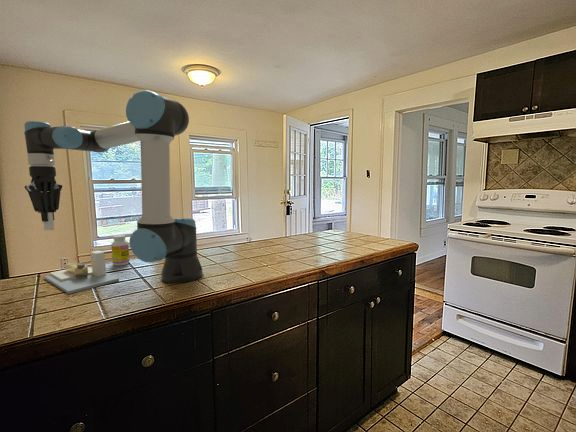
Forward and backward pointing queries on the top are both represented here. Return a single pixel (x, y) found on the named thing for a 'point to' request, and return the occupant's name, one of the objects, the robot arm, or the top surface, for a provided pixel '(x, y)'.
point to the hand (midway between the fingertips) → (49, 229)
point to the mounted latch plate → (79, 283)
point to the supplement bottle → (120, 250)
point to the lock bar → (76, 269)
